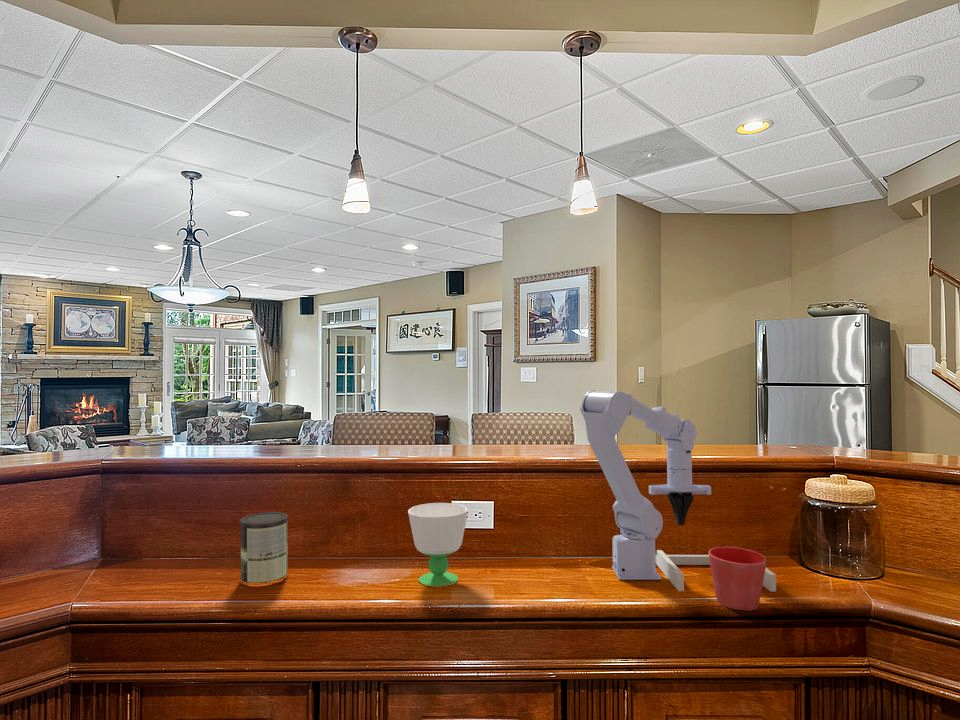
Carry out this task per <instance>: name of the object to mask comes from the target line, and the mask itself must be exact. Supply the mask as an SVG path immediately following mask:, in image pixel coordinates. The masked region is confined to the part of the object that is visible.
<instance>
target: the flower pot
mask: <svg viewBox="0 0 960 720" xmlns="http://www.w3.org/2000/svg"><path fill="white" fill-rule="evenodd" d="M708 555H709V560H710V565H709V566H710V571H711V578H712V579H711V580H712V584H713V589H714V594H715V598H716V601H717V603H719V604H720V605H722V606H723V607H726V608H728V609H733V610H736V611H737V610H739V611H753V610H756V609H758V607H759V605H760V601H761V596H762V589H763V587H764V586H763V581H764V575H765V569H766V568H767V557H766V556H764V555H763V554H762V553H760V552H757V551H755V550H751V549H747V548H743V547H738V546H737V547H735V546H717V547H713V548H710V549H709V550H708Z"/></svg>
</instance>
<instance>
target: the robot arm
mask: <svg viewBox="0 0 960 720" xmlns="http://www.w3.org/2000/svg"><path fill="white" fill-rule="evenodd" d="M579 411H580V413H581V415H582V418H583V420H584V421H585V429H586V437H587V441H588V443H589V445H590V447H591V449H592V452H593V454H594V455H595V458H596V460H597V463H598V464H599V466H600V468H601V470H602V472H603V474H604V477H605V478H606V480H607V483H608V485H609V487H610V489H611V491H612V494H613V495H614V497H615V501H614V503H613V505H612V509H613V512H614V520H615V521H614V522H615V524H616V526H617V528H619V529H620V531H619V532H620V534H616V535H613V537H612V543H611V544H612V566H611V569H613V572H614V574H615V575H616V577H617V579H618V580H621V581H622V580H625V581H626V580H627V581H629V580H631V581H633V580H637V581H638V580H640V581H641V580H642V581H647V580H649V581H653V580H654V581H655V580H659V581H660V580H662V577H661V575H660V574H659V573H658V571H657V570H656V566H657V565H656V538H658V536H659V535H660V533H661V532H662V529H663V525H664V520H663V516H662V513H661V512H660V511H659V510H657V509H656V508H655V506H654V504H653V502H651V501H650V500H649V499H648V498H647V497H645V496H643V494H641V492H640V490H639V488H638V486H637V483H636V481H635V478H634V477H633V475H632V472H631V471H630V468H629V465H628V463H627V461H626V460H625V457H624V455H623V453H622V451H621V449H620V446H619V444H618V442H617V440H616V435H618V434H620V431H621V429H622V428H623V425H624V424H625V422H626V420H627V419H628V416H630V417H632V418H634V419H637V420H640V421H642V422H644V426H645V427H646V428H647V429H648V430H650V431H651V432H653V433H656V434H658V435H660V436H661V437H662V439H663V440H664V441H666V466H667V467H666V473H667V474H666V475H667V476H666V480H667V484H652V485H651V484H650V485H648V494H650V495H652V496H655V495H666V498H667V499H668V501H669V503H670V506H671V508H672V510H673V513H674V516H675V517H674V518H675V523H676V524H677V525H678V526H685V523H686V518H687V516H688V515H687V514H688V512H689V509H690V507H691V505H692V503H693V501H694V498H695V497H694V496H693V495H708V496H710V495H711V496H712V487H711V485H709V484H705V485H704V484H693V462H692V461H693V460H692V457H693V456H692V454H693V453H692V452H693V450H694V446H695V443H694V442H695V441H696V438H697V434H698V431H697V429H696V426H695V424H694V423H693V422H692V421H691V420H689V419H683V418H680V417H679V415H678V414H677V413H670V412H668V411H667V408H666V407H665V406H657V407H655V406H654V407H652V408H650V406H647V405H646V404H644V403H642V402H641V401H639V400H637V399H636V398H634V397H633V395H631V394H628V393H626V392H624V391H623V390H622V391H621V390H618V391H603V390H602V391H600V390H599V391H597V390H595V389H594V390H588V391H587V392H586V393H585V395H584V396H583V399H582V401H581V405H580V408H579Z"/></svg>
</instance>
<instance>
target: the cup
mask: <svg viewBox="0 0 960 720" xmlns="http://www.w3.org/2000/svg"><path fill="white" fill-rule="evenodd" d="M407 513H408V518H409V519H408V520H409V524H410V528H411V529H410V530H411V533H412V537H413V544H414V547H415V548H416V549H417V551H418V552H420V553H421V554H423V555H424V556H428V557H430V558H429V560H428V570H429V571H430V572H428V573H425V574H422V575H421V576H420V577H419V578H418V583H419V582H420V583H419V584H421V583H422V584H424V585H427V586H426V587H428V586H429V585H430V586H445V585H449V584H452V583H455V582H456V581H457V580H458V581H459V576H458V575H457V574H455V573H452V572H447V570H448V569H449V561H448V559H447V556H449V555H452V554H454V553H456V552H457V551H458V550H459V549H460V548H461V546H462V545H463V539H464V534H465V529H466V524H467V518H468V513H469V510H468V507H467V506H464V505H463V504H459V503H452V502H451V503H450V502H430V503H424V504H418V505H414V506H412V507H410V508H409V509H408V510H407ZM458 581H457V582H458ZM457 582H456V583H457ZM456 583H455V584H456ZM422 584H421V585H422ZM424 585H423V586H424ZM452 585H453V584H452ZM445 587H446V586H445Z"/></svg>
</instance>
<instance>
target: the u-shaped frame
mask: <svg viewBox="0 0 960 720" xmlns="http://www.w3.org/2000/svg"><path fill="white" fill-rule="evenodd" d="M655 565H656V566H657V567H658V568H659V569H660V570H661V571H662V573H663V574H664V576H665V577H666V578H667V579H668V581H670V582H671V584H672V585H673V586H674V587H675V589H676V590H677V591H678V592H685V576H684V575H685V574H684V573H683V572H682V571H681V569H679V568H678V566H682V565H683V566H684V565H685V566H710V560H709V554H666V553H665V552H664V551H663V550H661V549H656V554H655ZM762 587H764V588H765V589H767V590H768V591H769V592H770V593H771V592H773V593H774V592H776V593H777V574H776V573H774V572H773V571H771V570H770V569H769V568H767V567H766V569H765V575H764V581H763V586H762Z"/></svg>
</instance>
